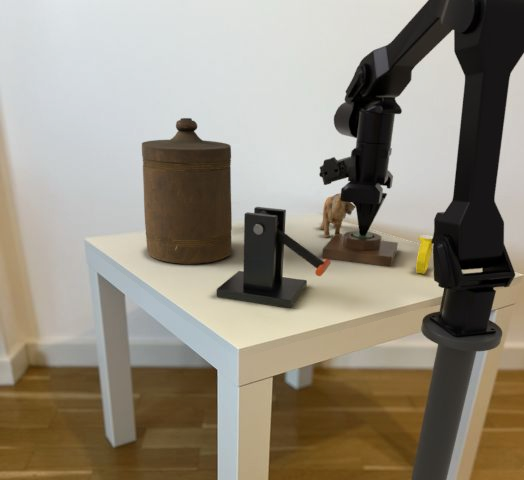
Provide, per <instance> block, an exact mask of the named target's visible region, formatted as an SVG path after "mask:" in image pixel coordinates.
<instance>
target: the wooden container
mask: <svg viewBox="0 0 524 480" xmlns="http://www.w3.org/2000/svg"><path fill="white" fill-rule="evenodd" d="M175 128H176V130H177V132H176V133H175V135H174V136H173V137H172V138H170V139H155V140H147V141H143V142H142V143H141V156H142V181H143V185H142V186H143V207H144V209H143V211H144V227H145V229H144V230H145V239H146V252H147V254H148V255H149V256H150V257H151V258H153V259H155V260H157V261H162V262H165V263H170V264H181V265H182V264H183V265H194V264H195V265H196V264H197V265H198V264H208V263H212V262H218V261H221V260H224V259H225V258H227V257H229V256H230V255H231V254H232V224H233V223H232V221H233V219H232V217H233V216H232V215H233V214H232V178H231V177H232V172H231V171H232V169H231V168H232V167H231V166H232V164H231V163H232V148H231V147H232V146H231V145H230V144H228V143H227V142H220V141H213V140H203V139H202V138H200V137H199V136H198V134H197V132H196V131H197V129H198V124H197V122H196V121H195V120H193V119H192V118H191V117H182V118H180V120H177V121H176V123H175Z"/></svg>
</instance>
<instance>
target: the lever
mask: <svg viewBox="0 0 524 480" xmlns="http://www.w3.org/2000/svg"><path fill="white" fill-rule="evenodd" d="M259 214H267V215H270V214H268V213H267V212H266V211H262V212H261V213H259ZM279 223H280V222H279V221H278V220H277V226H278V224H279ZM277 239H278V240H279V241H280V242H282V243H283V244H284V246H286V247H287V248H288V249H289V250H291V251H292V252H294V253H295V254H297V255H298V256H299V257H300V258H302V259H303V260H305V261H306V262H307V263H309V264H310V265H311V266H312V267H314V268H315V271H314V273H315V275H316V276H317V277H321V276H323V274H324V273H325V272H326V271H327V269H328V268H329V267H330V265H331V259H328V258H323V260H322V259H320V258H319V257H318V256H317V255H315V254H313V253H312V252H311V251H309V249H307V248H305V247H304V246H303V245H301V244H300V243H299V242H298V241H296V240H295V239H293V238H292V237H290V236H289V234H287V233H286V232H285V233H284V232H282V231H281V230H280V229H278V228H277Z"/></svg>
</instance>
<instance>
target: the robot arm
mask: <svg viewBox="0 0 524 480" xmlns="http://www.w3.org/2000/svg"><path fill="white" fill-rule="evenodd" d="M452 32H453V50H454V54H455V57H456V59H457V61H458V63H459V65H460V68H461V71H462V73H463V75H464V88H463V96H462V106H461V116H460V127H459V135H458V144H457V145H458V147H457V156H456V165H455V175H454V185H453V195H452V200H451V202H449V204H448V206H447V207H446V209H445V211H439V212H437V213H436V214H435V217H434V219H433V235H432V236H433V239H432V241H431V243H432V261H433V263H432V265H433V281H434V282H436V283H437V284H438V285H437V286H438V287H439V288H441V289H443V291H442V296H441V302H440V305H439V306H440V307H439V311H438V312H439V313H440V315H431V316H430V320H431V321H433V322H434V323H435V324H437V325H438V326H439V327H441V328H442V329H444V330H445V331H446V332H448V333H449V334H451V335H452V336H453V337H468V336H477V335H486V334H495V333H496V329H495V328H493V327H492V326H490V325H488V323H489V320H490V318H491V314H492V309H493V305H494V302H495V297H496V292H497V290H496V289H495V288H509V287H510V285H511V284H512V282H513V281H514V278H515V277H516V272H515V269H514V267H513V264H512V261H511V259H510V256H509V253H508V251H507V248H506V246H505V221H504V218H503V216H502V215H501V212H500V210H499V208H498V206H497V203H496V200H495V199H496V198H495V197H496V190H497V181H498V174H499V173H498V172H499V165H500V159H501V157H500V156H501V148H502V141H503V133H504V125H505V120H506V119H505V117H506V111H507V101H508V94H509V85H510V79H511V74H512V73H513V71H514V69H515V67H516V66H517V65H518V63H519V62H520V60H521V59H522V57H523V55H524V0H427V1H426V2H425V3H424V4H423V5H422V7H421V8H420V9H419V10H418V11H417V12H416V13H415V15H414V16H413V17H411V19H410V20H409V21H408V22H407V23H406V25H404V27H403V28H402V30H400V32H399V33H398V34H397V35H396V36H395V37H394V39H392V41H391V42H389V43H387V44H386V45H383V46H381V47H378V48H375V49H373V50H372V51H370V52H369V53H368V54H366V55H365V56H364V57H363V58H362V59H361V60H360V62H359V64H358V65H357V67H356V69H355V71H354V74H353V76H352V79H351V80H350V82H349V84H348V86H347V88H346V90H345V96H344V102H343V103H341V104H340V105H339V106H338V107H337V110H336V111H335V114H334V115H333V124H334V128H335V130H336V131H337V132H338V133H339V134H340V135H341V136H346V137H349V138H355V139H356V142H355V147H354V148H353V149H352V150H351V151H350V152H351V153H350V156H348V157H343V158H341V159H336V157H335V156H333V157H331V158H326V159H324V160H323V163H322V165H320V166H319V175H318V176H319V177H320V178H322V183H323V186H327V185H330V184H331V185H332V183H333V182H336V181H341V180H344V179H347V181H348V182H347V184H345V185H344V186H343V187H341V188H340V193H341V198H340V201H344V202H351V203H352V204H353V205H354V206H355V210H356V217H357V225H358V226H357V227H358V231H359V234H360V235H364V236H365V235H366V234H367V232H369V230H370V228H371V226H372V224H373V222H374V220H375V218H376V216H377V215H378V213H379V211H380V209H381V207H382V205H383V203H384V201H385V200H386V198H387V195H388V193H386V192H384V188H383V187H386V189H389V190H390V189H391V188H392V187H393V180H394V176H393V174H392V172H391V171H390V170H389V163H390V156H392V152H393V151H392V150H393V148H392V139H393V132H394V124H395V117H396V116H395V115H401V114H402V112H403V110H402V107H401V106H400V105H399V104H398V102H397V100H396V98H398V97H399V96H401V95H402V93H403V92H404V90H406V89H407V87H408V85H409V84H410V83H411V81H412V77H413V76H412V73H413V70H414V68H415V67H416V66H417V65H418V64H420V62H422V60H424V58H425V57H426V56H428V54H430V53H431V52H432V51H433V50H434V49H435V48H436V47H437V46H438V45H439V44H440V43H441V42H442V41H443V40H444V39H445V38H446V37H447V36H448V35H449V34H450V33H452ZM480 269H481V271H476V272H466V273H463V271H467V270H480Z"/></svg>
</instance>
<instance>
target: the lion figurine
mask: <svg viewBox="0 0 524 480" xmlns="http://www.w3.org/2000/svg"><path fill="white" fill-rule="evenodd" d="M340 198H341V192H339V193H336V194H334V195H333V196H329V197H327V198H326V199H325V201H324V204H323V211H322V222H321V224H320V226H319V227H318V228H319V230H324V233H323V234H322V237H323V238H329V237H330V233H331V232H330V225H331V226H332V227H333V228H335V230H334V235H337V236H343V234H342V233H341V228H342V224H343V220H344V219H346V216H347V215H349V216H352V214H353V213H352V212H353V211H354V210H355V209H356V206H355V205H354V204H353V203H352V202H344V201H340Z"/></svg>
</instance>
